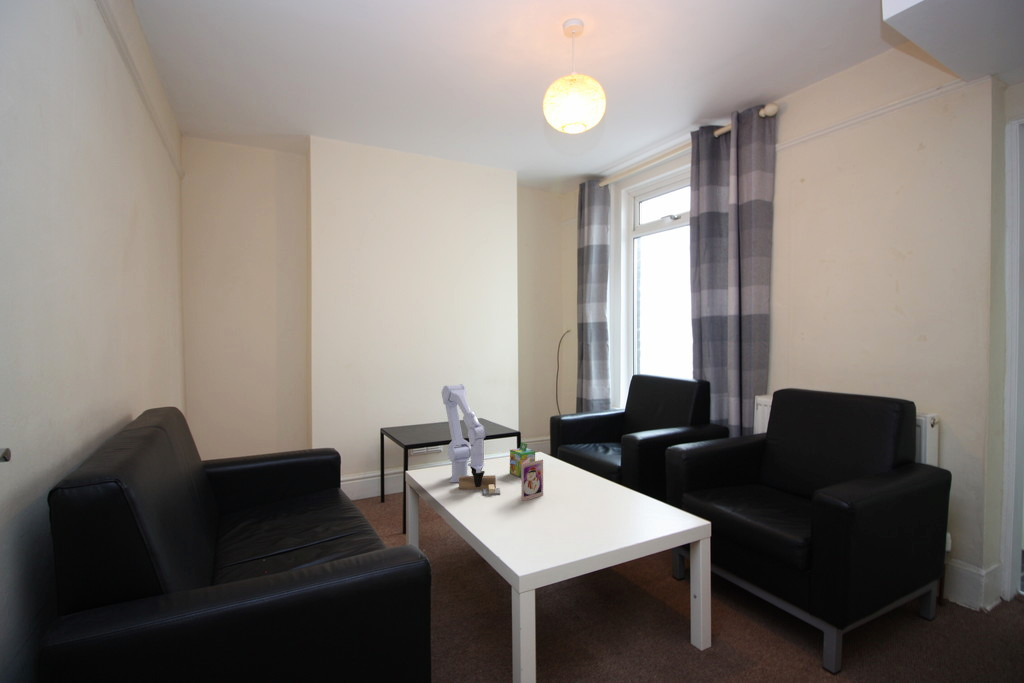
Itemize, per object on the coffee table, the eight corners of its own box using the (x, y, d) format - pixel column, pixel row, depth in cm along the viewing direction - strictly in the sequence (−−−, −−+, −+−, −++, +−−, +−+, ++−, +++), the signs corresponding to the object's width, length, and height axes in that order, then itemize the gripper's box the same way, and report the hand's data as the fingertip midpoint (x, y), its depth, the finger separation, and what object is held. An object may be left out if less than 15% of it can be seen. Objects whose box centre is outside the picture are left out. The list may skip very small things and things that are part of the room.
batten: (459, 487, 206) (459, 476, 206) (495, 486, 207) (495, 475, 207) (458, 490, 203) (458, 478, 203) (495, 489, 204) (495, 477, 204)
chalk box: (509, 473, 226) (509, 443, 226) (524, 470, 232) (523, 440, 231) (520, 478, 219) (520, 446, 218) (536, 474, 224) (535, 443, 224)
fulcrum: (483, 490, 201) (483, 484, 201) (499, 489, 202) (499, 484, 202) (483, 495, 195) (483, 489, 195) (500, 494, 196) (500, 488, 196)
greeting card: (522, 501, 188) (522, 464, 188) (512, 496, 194) (511, 460, 193) (544, 495, 194) (544, 459, 194) (533, 490, 200) (533, 456, 200)
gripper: (467, 450, 212) (467, 479, 212) (469, 458, 197) (469, 490, 197) (482, 449, 213) (482, 479, 213) (485, 457, 198) (485, 489, 198)
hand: (477, 484), depth 205 cm, fingers open, 6 cm apart
